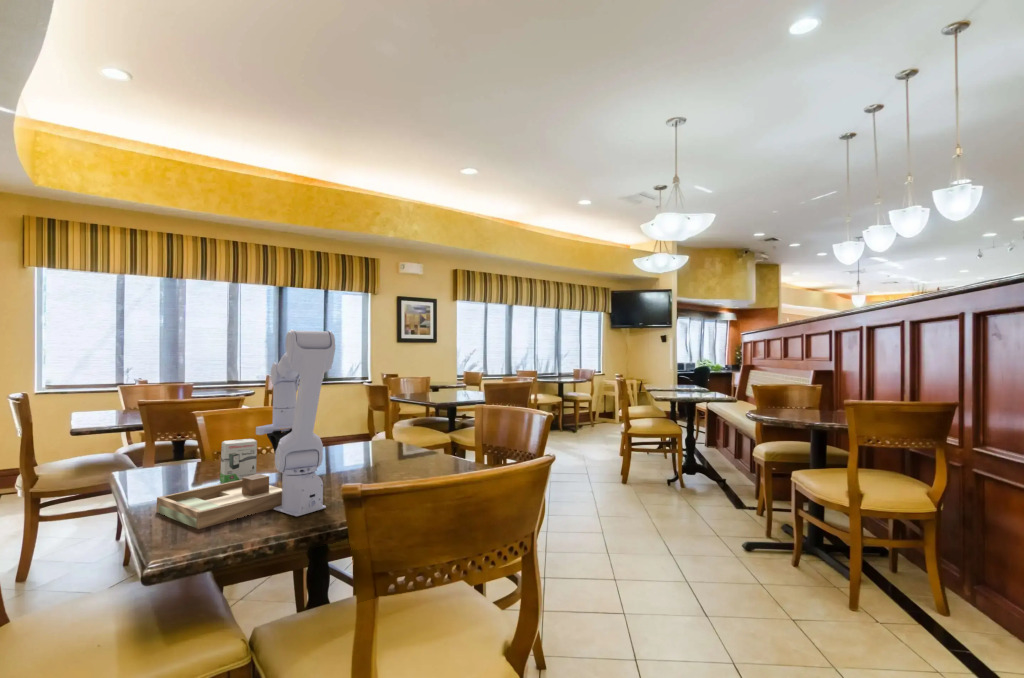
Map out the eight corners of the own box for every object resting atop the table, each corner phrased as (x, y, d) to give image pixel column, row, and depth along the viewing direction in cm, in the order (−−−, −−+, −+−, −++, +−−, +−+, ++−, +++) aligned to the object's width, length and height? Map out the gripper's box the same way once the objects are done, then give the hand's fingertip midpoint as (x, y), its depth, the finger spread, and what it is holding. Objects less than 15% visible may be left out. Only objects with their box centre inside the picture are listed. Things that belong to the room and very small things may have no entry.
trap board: (300, 501, 124) (300, 487, 124) (198, 529, 104) (199, 512, 104) (256, 489, 135) (256, 476, 135) (156, 512, 115) (156, 497, 115)
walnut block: (268, 491, 125) (269, 476, 125) (251, 496, 122) (252, 479, 122) (259, 489, 128) (259, 473, 128) (241, 493, 124) (242, 477, 124)
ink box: (223, 485, 139) (224, 443, 139) (219, 481, 143) (220, 441, 143) (256, 480, 145) (257, 440, 145) (252, 477, 148) (252, 438, 149)
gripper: (299, 404, 140) (298, 452, 139) (249, 409, 128) (248, 461, 127) (315, 406, 136) (314, 455, 136) (265, 410, 124) (263, 464, 123)
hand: (283, 458), depth 131 cm, fingers closed
